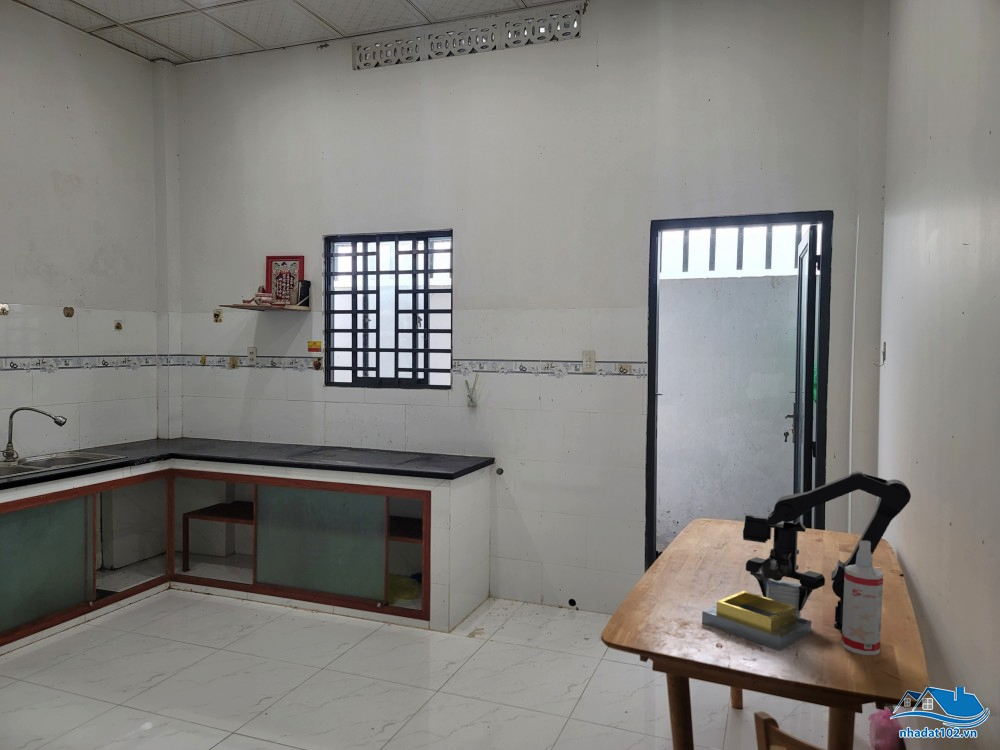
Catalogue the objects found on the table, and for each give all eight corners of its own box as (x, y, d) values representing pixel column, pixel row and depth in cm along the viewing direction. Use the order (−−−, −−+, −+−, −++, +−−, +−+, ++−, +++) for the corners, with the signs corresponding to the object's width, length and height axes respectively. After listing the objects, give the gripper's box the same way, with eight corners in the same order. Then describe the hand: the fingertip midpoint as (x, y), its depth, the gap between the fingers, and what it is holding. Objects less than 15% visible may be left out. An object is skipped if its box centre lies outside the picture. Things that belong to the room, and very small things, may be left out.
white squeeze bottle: (867, 641, 158) (872, 537, 158) (886, 655, 151) (891, 546, 150) (835, 640, 158) (839, 536, 157) (853, 654, 151) (857, 545, 150)
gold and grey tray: (810, 633, 162) (811, 609, 162) (779, 650, 151) (780, 624, 151) (734, 608, 177) (735, 586, 177) (701, 623, 166) (702, 599, 166)
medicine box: (797, 614, 175) (798, 581, 174) (800, 620, 170) (801, 586, 170) (765, 610, 177) (766, 577, 176) (767, 616, 172) (768, 583, 172)
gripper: (735, 542, 175) (733, 601, 175) (807, 560, 161) (804, 623, 161) (757, 536, 182) (754, 592, 183) (827, 552, 168) (824, 613, 168)
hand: (782, 605), depth 173 cm, fingers open, 9 cm apart
